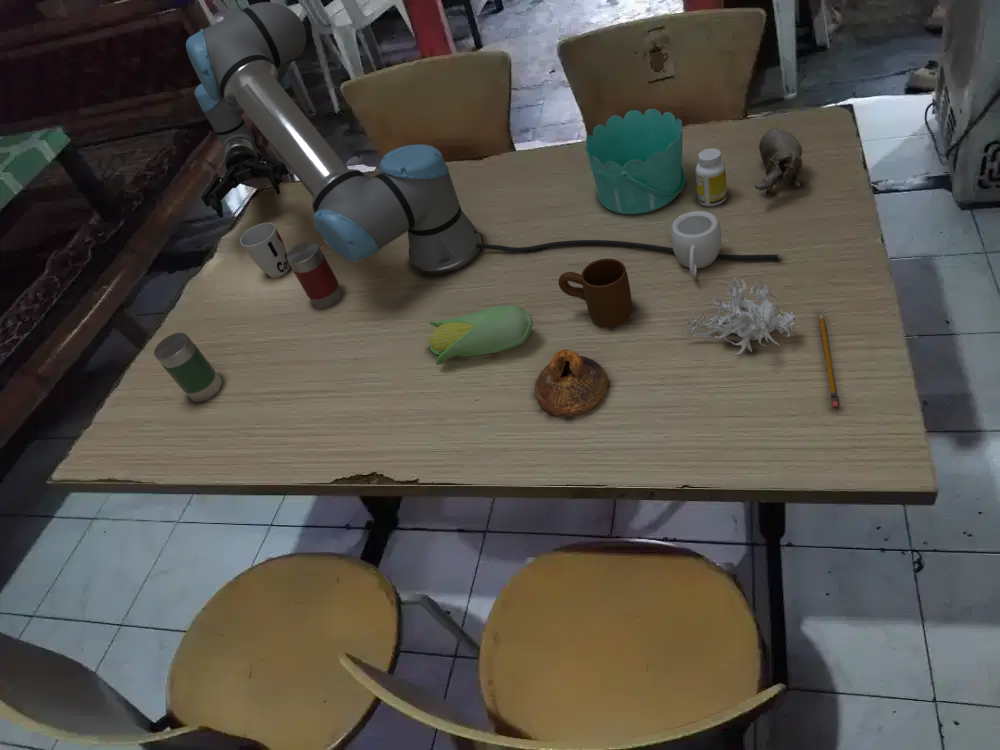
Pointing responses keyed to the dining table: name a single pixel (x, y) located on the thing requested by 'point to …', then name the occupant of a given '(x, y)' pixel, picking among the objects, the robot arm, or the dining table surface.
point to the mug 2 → (696, 239)
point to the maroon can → (315, 274)
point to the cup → (266, 249)
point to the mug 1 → (602, 291)
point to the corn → (480, 332)
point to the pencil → (828, 362)
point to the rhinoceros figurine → (779, 158)
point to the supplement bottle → (711, 178)
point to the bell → (570, 384)
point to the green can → (188, 367)
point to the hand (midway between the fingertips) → (247, 200)
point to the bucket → (637, 161)
